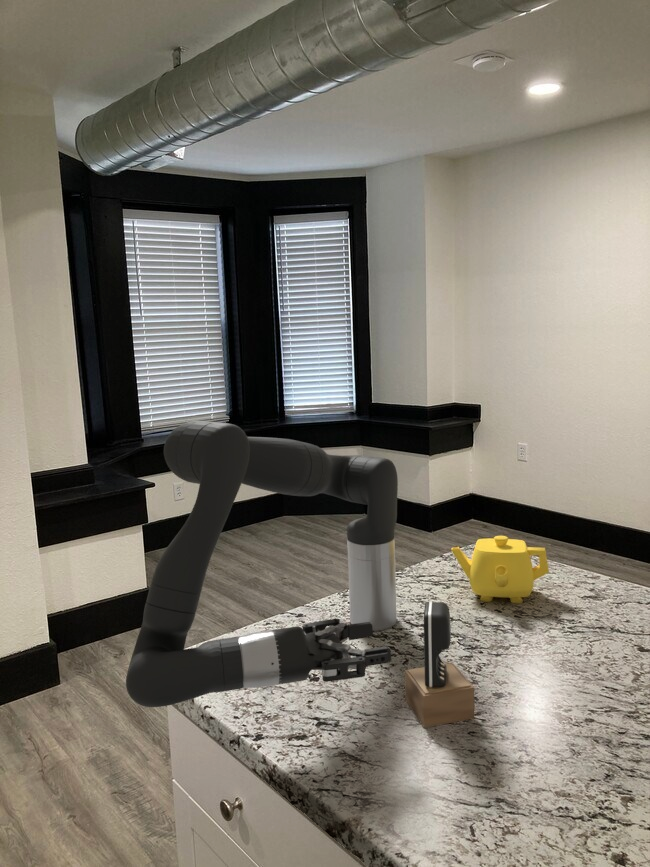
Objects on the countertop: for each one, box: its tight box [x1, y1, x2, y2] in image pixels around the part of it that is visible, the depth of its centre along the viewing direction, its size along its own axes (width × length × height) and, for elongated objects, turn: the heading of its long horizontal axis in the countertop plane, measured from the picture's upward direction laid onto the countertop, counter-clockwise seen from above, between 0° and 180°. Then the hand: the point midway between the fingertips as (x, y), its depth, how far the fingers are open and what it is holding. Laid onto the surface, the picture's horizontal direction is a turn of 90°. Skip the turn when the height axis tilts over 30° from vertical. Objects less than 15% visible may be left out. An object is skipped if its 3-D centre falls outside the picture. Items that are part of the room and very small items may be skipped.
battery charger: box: [423, 600, 452, 687], centre depth 106 cm, size 7×4×11 cm, turn 170°
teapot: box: [451, 535, 550, 604], centre depth 148 cm, size 20×19×13 cm
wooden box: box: [404, 662, 475, 728], centre depth 108 cm, size 8×8×5 cm
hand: (380, 641), depth 104 cm, fingers open, 8 cm apart
